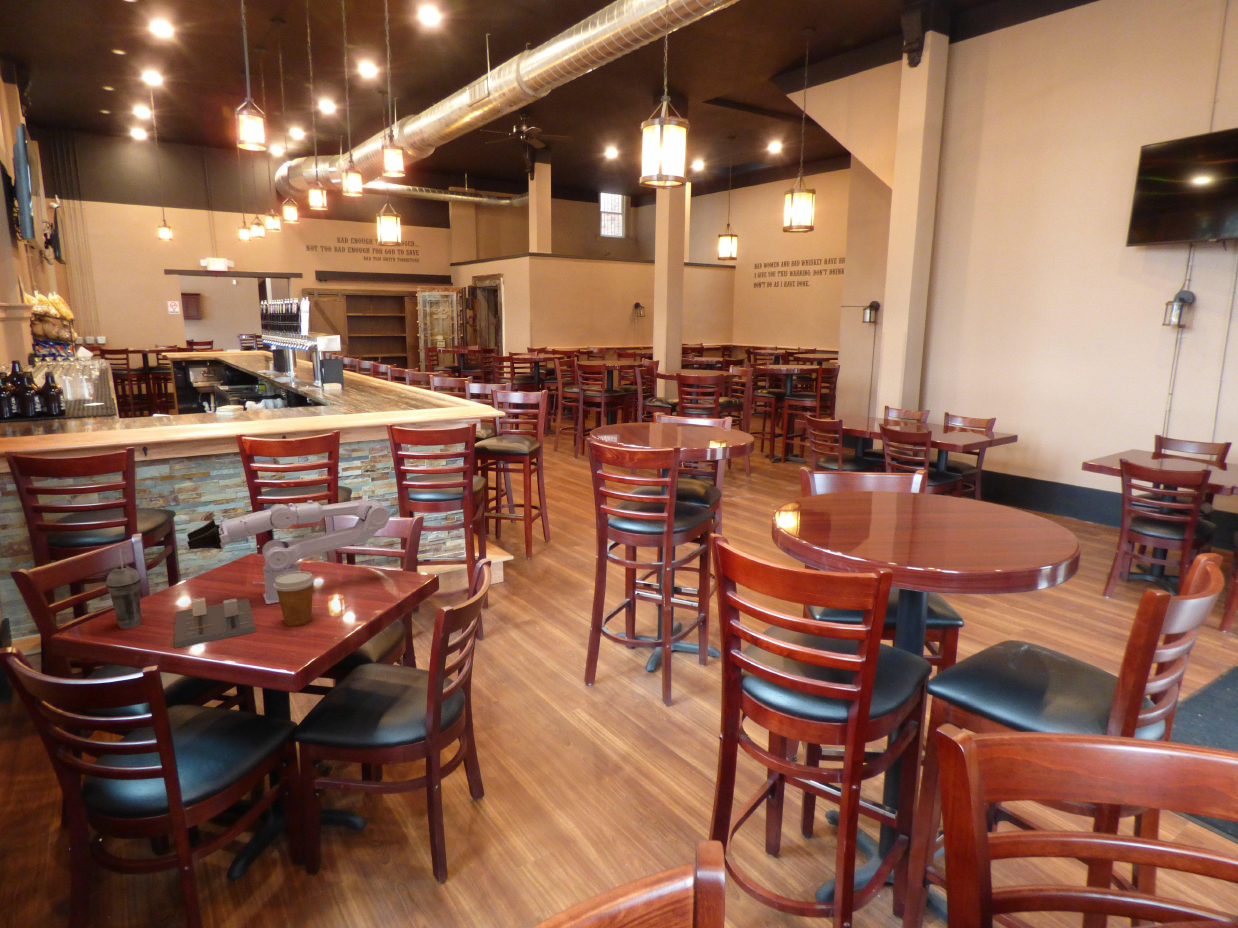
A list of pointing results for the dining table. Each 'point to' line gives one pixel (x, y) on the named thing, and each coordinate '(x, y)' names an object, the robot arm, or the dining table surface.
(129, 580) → the beverage cup
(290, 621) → the disposable coffee cup
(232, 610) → the fader cap grey
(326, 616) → the dining table surface
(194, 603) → the fader cap ivory
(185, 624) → the mixing console
